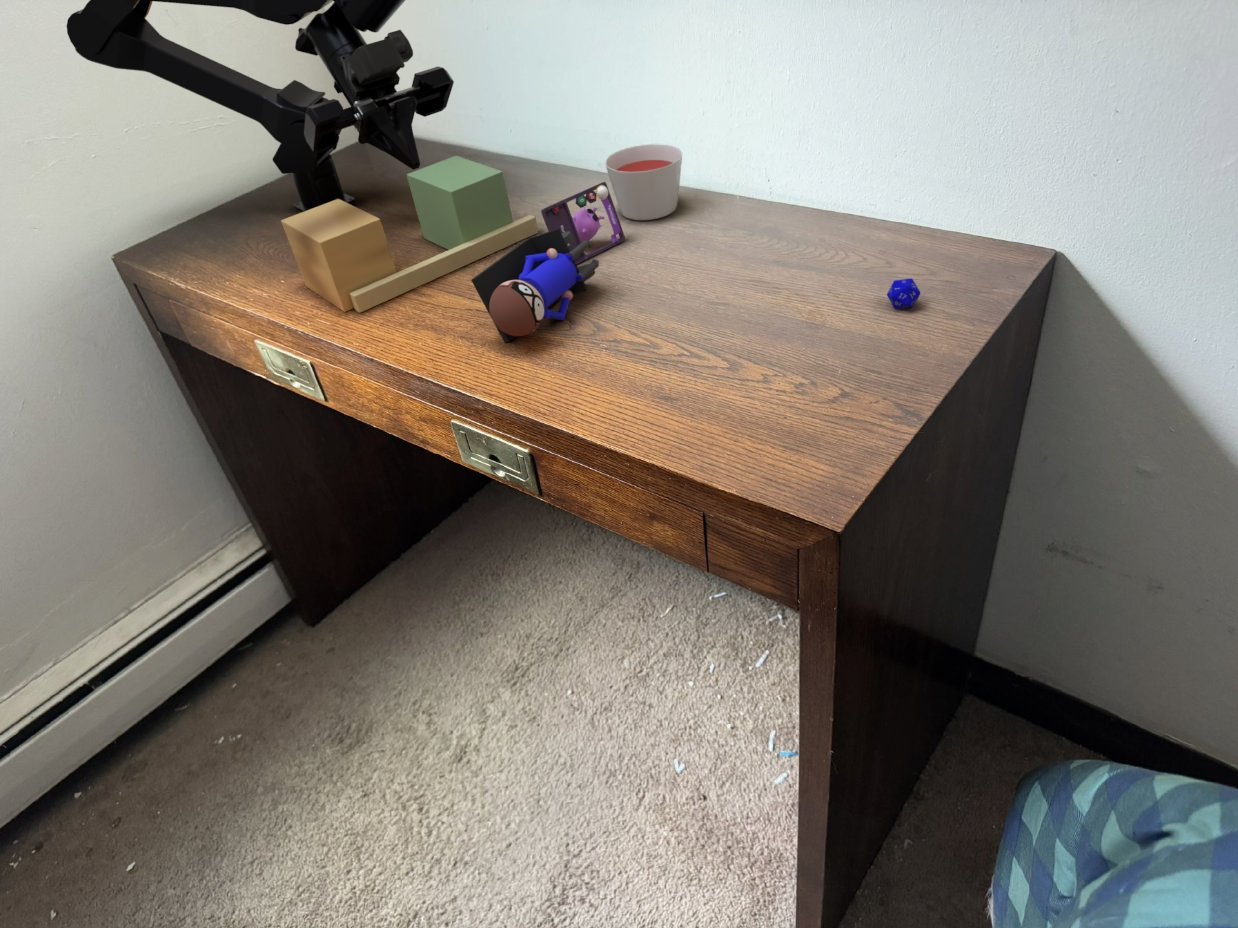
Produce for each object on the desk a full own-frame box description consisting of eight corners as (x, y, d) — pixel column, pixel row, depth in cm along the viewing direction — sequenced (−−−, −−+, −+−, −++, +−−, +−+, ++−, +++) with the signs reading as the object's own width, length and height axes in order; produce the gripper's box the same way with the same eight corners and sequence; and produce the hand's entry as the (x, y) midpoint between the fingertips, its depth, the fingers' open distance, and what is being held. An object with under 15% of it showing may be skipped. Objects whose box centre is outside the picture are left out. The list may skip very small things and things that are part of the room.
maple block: (305, 286, 99) (280, 220, 94) (360, 263, 103) (338, 198, 98) (344, 312, 93) (319, 242, 88) (401, 287, 96) (380, 218, 91)
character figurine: (613, 290, 90) (528, 364, 81) (556, 275, 93) (468, 345, 84) (608, 220, 85) (517, 290, 76) (547, 206, 88) (452, 273, 79)
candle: (604, 226, 102) (597, 173, 98) (620, 196, 109) (614, 145, 105) (679, 224, 100) (675, 170, 96) (691, 194, 107) (687, 142, 103)
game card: (545, 208, 91) (609, 180, 95) (521, 214, 95) (583, 187, 100) (568, 269, 94) (629, 239, 98) (543, 272, 98) (603, 243, 102)
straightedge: (354, 309, 93) (348, 293, 92) (532, 230, 104) (529, 214, 103) (359, 313, 92) (354, 296, 91) (538, 232, 103) (535, 216, 102)
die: (920, 301, 80) (929, 287, 78) (900, 319, 80) (908, 306, 77) (898, 282, 81) (906, 267, 78) (878, 300, 81) (886, 285, 78)
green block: (423, 238, 106) (405, 174, 101) (471, 218, 109) (456, 155, 104) (467, 259, 100) (451, 192, 95) (516, 237, 103) (502, 171, 98)
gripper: (278, 32, 94) (354, 152, 94) (426, -7, 103) (496, 103, 102) (276, 97, 104) (345, 206, 104) (411, 56, 113) (475, 157, 112)
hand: (416, 167), depth 105 cm, fingers closed
